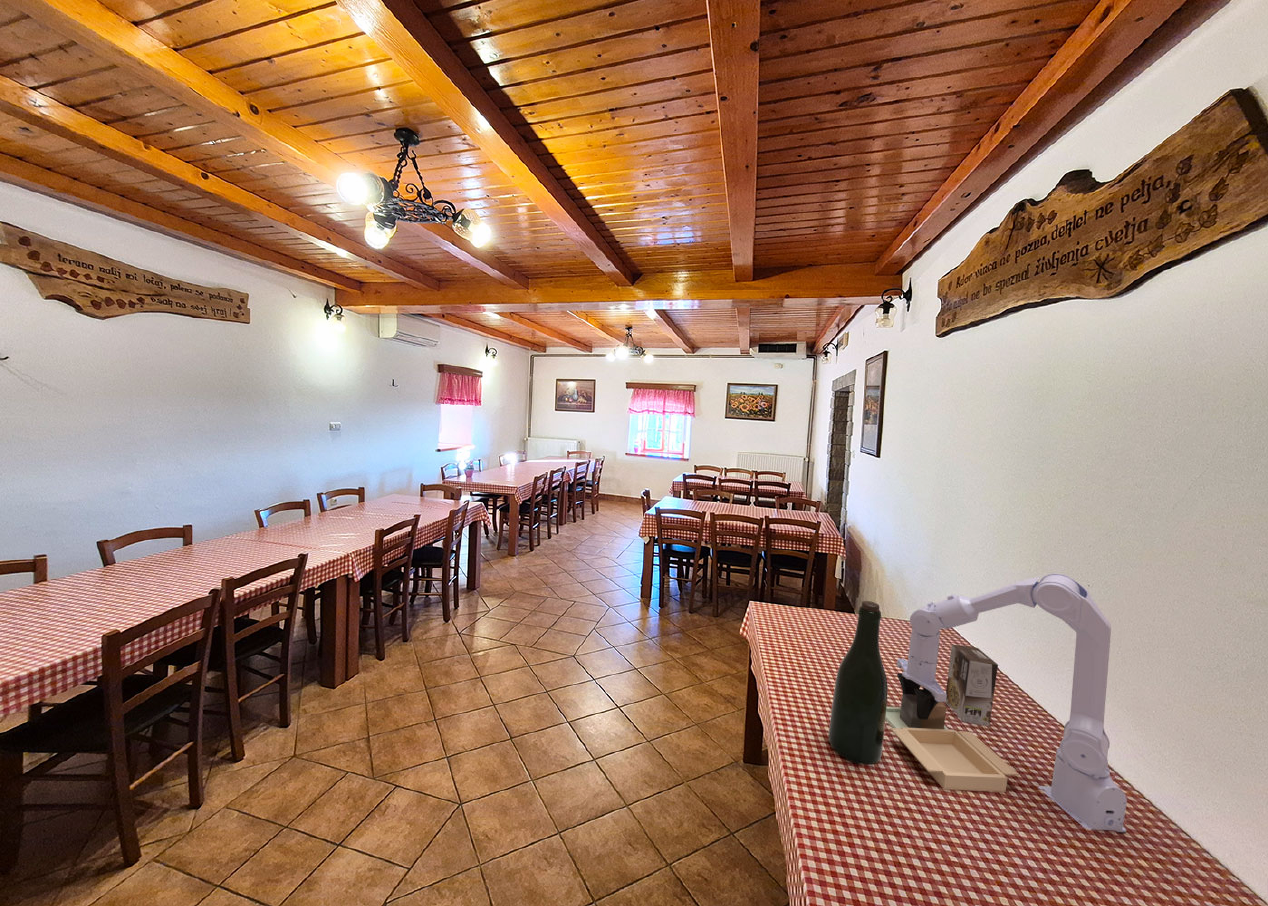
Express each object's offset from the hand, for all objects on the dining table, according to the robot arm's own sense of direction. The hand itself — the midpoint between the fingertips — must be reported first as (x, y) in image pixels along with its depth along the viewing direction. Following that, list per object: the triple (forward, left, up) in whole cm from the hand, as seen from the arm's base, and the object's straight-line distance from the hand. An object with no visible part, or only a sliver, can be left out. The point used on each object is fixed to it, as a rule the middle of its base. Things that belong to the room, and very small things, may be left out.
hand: (915, 711), depth 106 cm
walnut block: (0, -2, -3) cm, 3 cm away
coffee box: (+5, -18, -4) cm, 19 cm away
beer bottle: (-9, +19, -4) cm, 22 cm away
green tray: (0, 0, -4) cm, 4 cm away
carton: (-13, +1, -4) cm, 13 cm away
